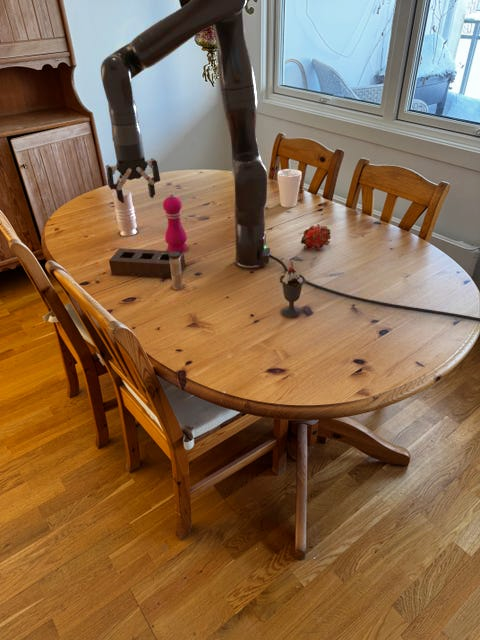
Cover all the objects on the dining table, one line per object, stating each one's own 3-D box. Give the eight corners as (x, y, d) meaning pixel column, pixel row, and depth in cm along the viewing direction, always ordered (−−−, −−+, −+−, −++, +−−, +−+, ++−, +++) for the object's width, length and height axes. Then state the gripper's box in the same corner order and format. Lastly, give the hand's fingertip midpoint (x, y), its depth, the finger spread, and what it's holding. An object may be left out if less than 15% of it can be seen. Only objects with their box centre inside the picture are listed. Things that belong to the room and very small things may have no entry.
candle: (139, 234, 169) (133, 194, 160) (120, 237, 167) (113, 197, 158) (136, 227, 174) (129, 188, 166) (117, 230, 172) (110, 191, 164)
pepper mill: (184, 255, 154) (178, 197, 143) (163, 254, 155) (156, 195, 144) (190, 246, 160) (185, 189, 148) (170, 244, 161) (163, 188, 150)
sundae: (287, 302, 129) (289, 254, 120) (308, 310, 125) (311, 261, 116) (273, 313, 124) (274, 263, 116) (294, 322, 121) (297, 271, 112)
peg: (184, 284, 138) (181, 251, 132) (181, 290, 135) (178, 256, 129) (174, 284, 139) (170, 250, 132) (171, 289, 136) (166, 255, 130)
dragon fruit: (331, 248, 159) (303, 261, 156) (318, 228, 161) (290, 240, 158) (340, 235, 151) (311, 249, 148) (327, 214, 153) (297, 227, 150)
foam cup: (273, 202, 192) (274, 170, 185) (294, 199, 194) (295, 168, 187) (282, 210, 185) (283, 177, 177) (303, 207, 187) (305, 174, 180)
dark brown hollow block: (185, 265, 148) (183, 251, 145) (177, 279, 141) (176, 264, 138) (122, 262, 151) (119, 248, 148) (111, 275, 144) (108, 260, 141)
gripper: (103, 147, 118) (115, 208, 127) (157, 140, 123) (165, 199, 132) (98, 141, 124) (109, 199, 133) (149, 134, 129) (157, 191, 138)
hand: (137, 199), depth 133 cm, fingers open, 8 cm apart
